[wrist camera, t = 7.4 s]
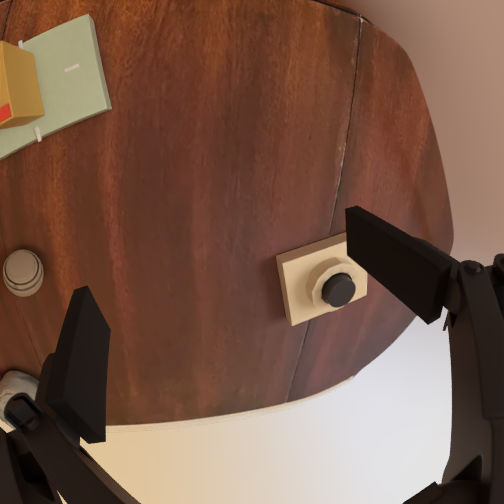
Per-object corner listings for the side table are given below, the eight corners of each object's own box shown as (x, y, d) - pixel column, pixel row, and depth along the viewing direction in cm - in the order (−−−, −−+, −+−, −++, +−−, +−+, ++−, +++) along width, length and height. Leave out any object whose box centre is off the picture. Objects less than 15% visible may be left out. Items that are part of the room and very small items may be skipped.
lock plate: (93, 19, 20) (87, 9, 17) (113, 112, 25) (108, 112, 22) (-21, 77, 18) (-35, 75, 15) (-2, 165, 23) (-15, 170, 20)
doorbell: (357, 227, 39) (375, 239, 36) (358, 287, 44) (373, 301, 41) (275, 255, 37) (288, 271, 34) (285, 316, 42) (297, 334, 39)
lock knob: (12, 64, 17) (-25, 55, 11) (33, 53, 17) (0, 39, 11) (24, 125, 20) (-13, 132, 14) (45, 115, 20) (12, 117, 14)
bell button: (348, 268, 37) (356, 275, 36) (348, 293, 39) (355, 300, 38) (320, 279, 36) (327, 286, 35) (322, 304, 38) (328, 312, 37)
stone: (67, 401, 33) (46, 456, 28) (56, 386, 40) (37, 433, 35) (6, 364, 28) (-16, 424, 23) (7, 355, 35) (-13, 404, 30)
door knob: (56, 270, 30) (44, 293, 25) (28, 288, 29) (16, 312, 25) (32, 234, 27) (16, 254, 23) (5, 255, 27) (-12, 276, 22)
